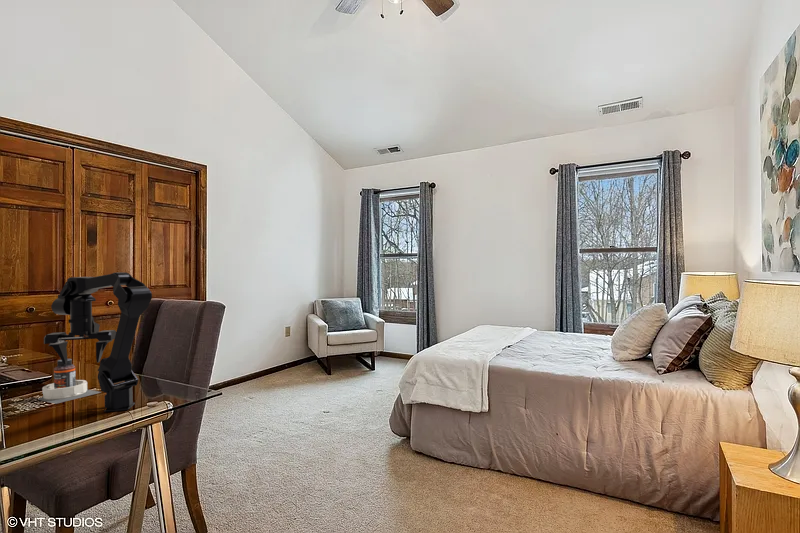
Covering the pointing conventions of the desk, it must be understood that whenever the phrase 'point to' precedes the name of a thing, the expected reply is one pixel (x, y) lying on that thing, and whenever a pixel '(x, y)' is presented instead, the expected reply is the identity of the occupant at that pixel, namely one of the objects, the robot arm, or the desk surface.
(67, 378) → the supplement bottle
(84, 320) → the robot arm
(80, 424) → the desk surface
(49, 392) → the bowl
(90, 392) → the mat
